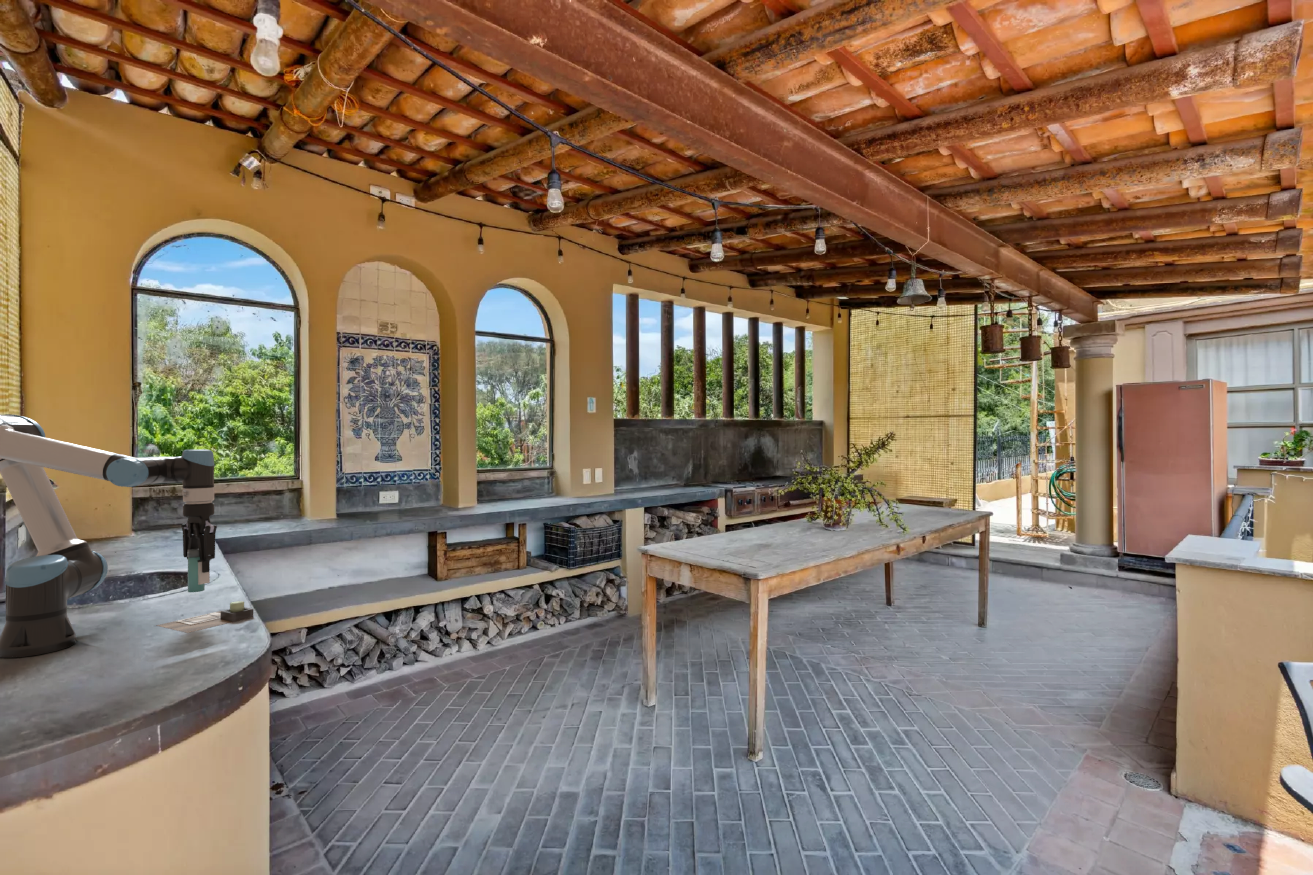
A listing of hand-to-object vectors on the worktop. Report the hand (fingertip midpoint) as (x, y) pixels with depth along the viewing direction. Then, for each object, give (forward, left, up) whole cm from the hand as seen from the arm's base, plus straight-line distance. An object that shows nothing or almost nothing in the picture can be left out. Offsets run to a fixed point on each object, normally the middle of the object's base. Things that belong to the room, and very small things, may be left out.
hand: (199, 582), depth 189 cm
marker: (0, -1, -2) cm, 2 cm away
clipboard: (0, +2, -13) cm, 13 cm away
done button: (+5, +8, -10) cm, 14 cm away
